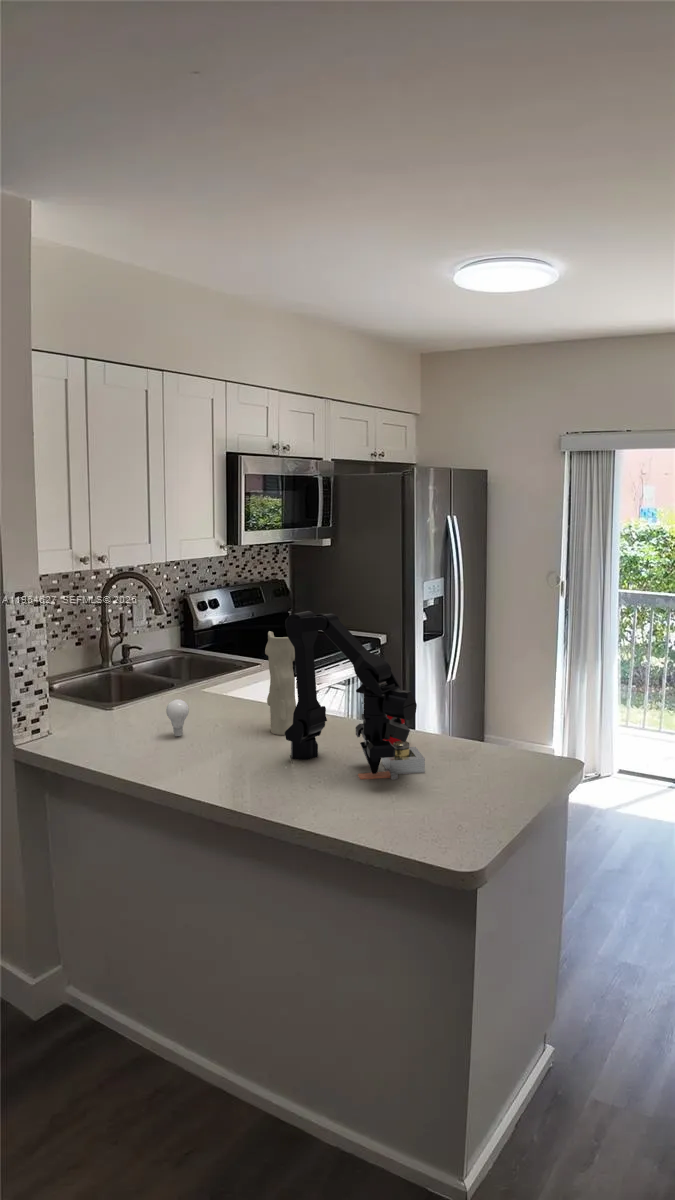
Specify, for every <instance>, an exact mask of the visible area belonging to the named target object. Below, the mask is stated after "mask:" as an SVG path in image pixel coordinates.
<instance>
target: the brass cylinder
mask: <svg viewBox="0 0 675 1200" xmlns="http://www.w3.org/2000/svg"><path fill="white" fill-rule="evenodd" d="M393 746H394V748H395V758H400V757H409V747H410V742H409V741H407V740H406V742H403V741H396V742H394V743H393Z"/></svg>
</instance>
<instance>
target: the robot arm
mask: <svg viewBox="0 0 675 1200" xmlns="http://www.w3.org/2000/svg"><path fill="white" fill-rule="evenodd" d="M285 629H286V634H287V637H288V638H289V640H290V641H291V643H292V645H293V646H294V650H295V660H294V663H295V674H296V675H295V677H296V690H297V702H296V708H295V710H294V713H293V724H292V725H291V726H290V727H289V728H288V729H287V730H286V731H285V735H284V736H285V739H286V741H288V742H290V755H289V756H290V757H289V758H290V761H291V764H292V765H293V764H294V763H293V760H298V761H308V760H312V759H316V758H318V757H319V744H318V742H317V739H316V737H318V736H319V737H320V736H321V733H322V731H323V729H324V728H325V727H326V722H328V719H327V715H326V714H327V713H326V712H327V711H326V710H327V709H326V706H325V705H322V706H321V704H320V702H319V700H318V697H317V694H318V693H317V683H316V682H317V680H316V667H315V653H314V651H315V650H314V646H315V642H316V640H317V637H318V635H319V632H320V631H322V632H323V633H324V634H325V636H327V638H328V639H329V640H330V641H331V642H332V643H333V644H334V645H335V646H336V648H337V649H338V650H339V651H341V653H342V654H343V655H344V657H346V659H348V660H349V662H350V663H351V664H352V667H353V670H354V673H355V675H356V676H357V678H358V680H359V681H360V683H361V685H360V686H359V687H358V688H356V689H355V692H356V693H358V694H362V695H363V700H362V701H363V703H362V706H363V708H362V709H363V710H362V711H363V712H362V713H361V719H362V723H358V724H357V725H356V726H355V735H356V737H357V738H361V736H362V738H363V741H362V742H359V743H360V747H361V749H362V752H363V754H364V756H365V759H366V761H367V764H368V767H369V769H370V773H372V774H376V773H377V772H379V771H378V770H379V767H380V763H381V762H382V758H387V757H395V748H394V746H393V745H392V744H391V743H390V742H389V741H385V740H389V739H390V737H392V738H396V739H399V740H401V741H403V742H406V741H407V740H408V736H409V734H410V732H411V730H410V728H409V727H408V726H407V725H406V724H402V722H401V719H404V720H405V721H410V720H411V721H412V719H414V716H415V715H416V712H417V702H416V699H415V697H414V696H413V692H412V690H403V689H400V688H401V687H400V684H399V683H398V681H397V679H396V677H395V675H394V674H393V672H392V668H391V665H390V664H389V663H388V662H387V661H386V660H384V659H383V658H382V657H381V656H379V655H377V654H376V653H374V652H371V651H369V650H368V649H367V648H365V646H364V645H363V644H362V643H361V642H360V641H359V640H358V639H357V637H355V636H354V635H353V634H352V633H351V631H350V630H349V629H348V628H347V627H346V626H345V625H344V624H343V623H342V621H341V620H339V616H337V615H336V614H334V613H317V614H316V613H314V612H313V611H310V610H307V611H302V612H296V613H292V614H290V615H288V616H287V618H286V619H285ZM383 684H384V685H383ZM387 715H388V716H391V717H393V718H392V719H391V720H389V718H388V717H387ZM383 739H385V740H383Z"/></svg>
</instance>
